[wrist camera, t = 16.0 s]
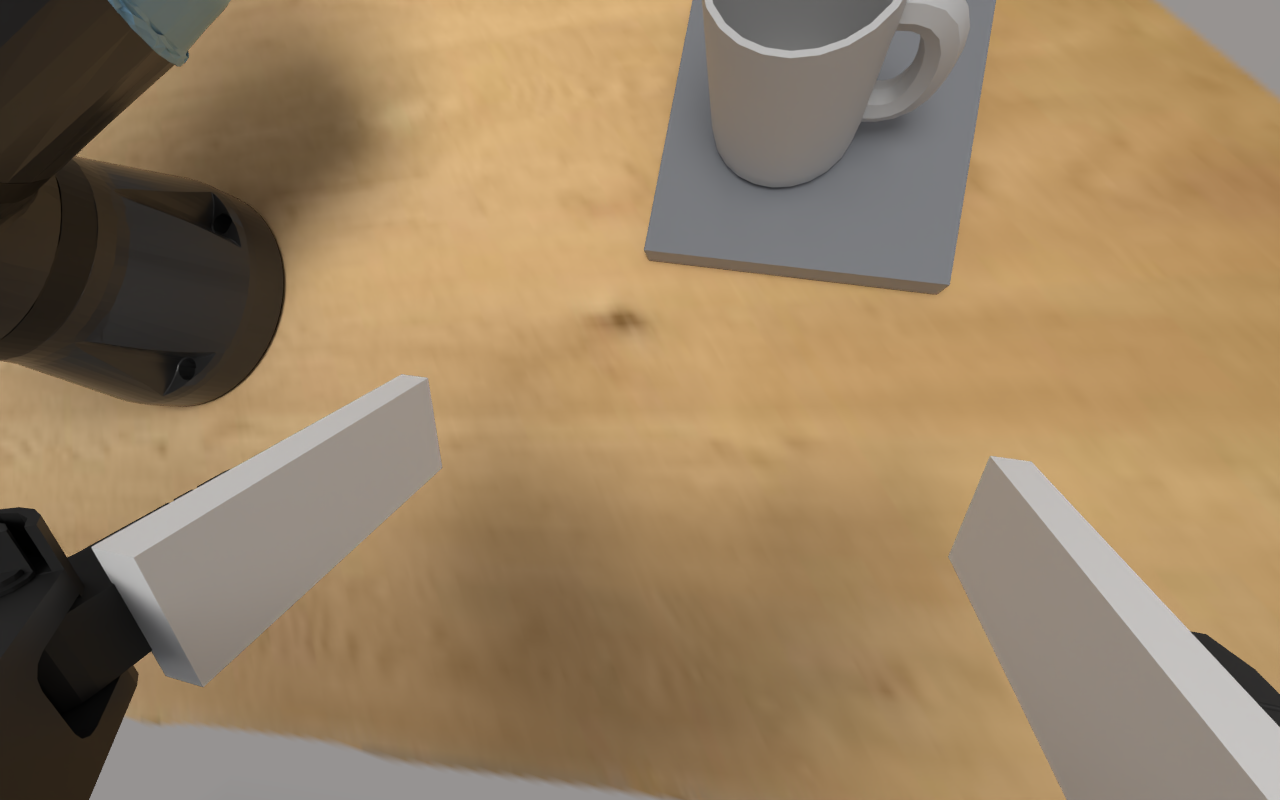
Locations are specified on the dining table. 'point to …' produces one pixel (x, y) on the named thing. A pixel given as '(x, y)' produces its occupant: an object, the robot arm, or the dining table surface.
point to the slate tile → (827, 184)
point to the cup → (816, 76)
